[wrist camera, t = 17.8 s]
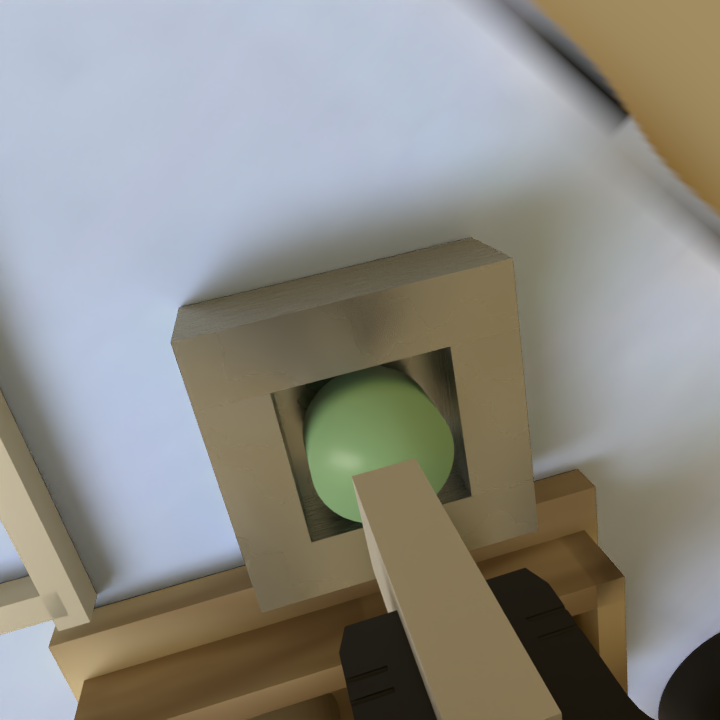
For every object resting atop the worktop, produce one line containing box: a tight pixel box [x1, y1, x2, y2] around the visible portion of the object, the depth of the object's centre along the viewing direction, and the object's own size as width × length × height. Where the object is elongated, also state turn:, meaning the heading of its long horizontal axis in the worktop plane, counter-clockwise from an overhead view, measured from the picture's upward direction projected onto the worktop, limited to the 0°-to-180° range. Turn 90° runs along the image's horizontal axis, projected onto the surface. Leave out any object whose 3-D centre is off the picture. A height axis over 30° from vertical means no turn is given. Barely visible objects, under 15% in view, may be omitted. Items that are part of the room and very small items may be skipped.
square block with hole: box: [171, 237, 538, 613], centre depth 19 cm, size 9×9×3 cm
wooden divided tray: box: [49, 469, 628, 720], centre depth 23 cm, size 13×19×4 cm
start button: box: [302, 366, 454, 523], centre depth 18 cm, size 4×4×2 cm
